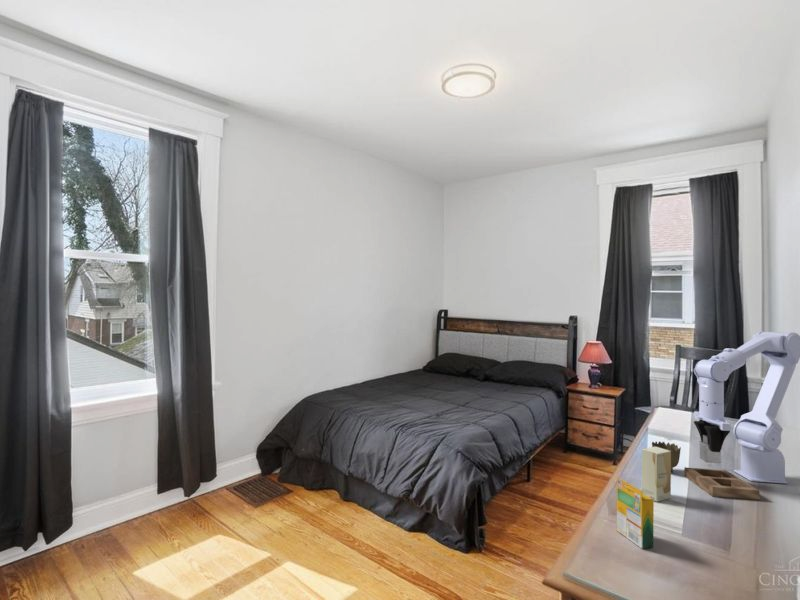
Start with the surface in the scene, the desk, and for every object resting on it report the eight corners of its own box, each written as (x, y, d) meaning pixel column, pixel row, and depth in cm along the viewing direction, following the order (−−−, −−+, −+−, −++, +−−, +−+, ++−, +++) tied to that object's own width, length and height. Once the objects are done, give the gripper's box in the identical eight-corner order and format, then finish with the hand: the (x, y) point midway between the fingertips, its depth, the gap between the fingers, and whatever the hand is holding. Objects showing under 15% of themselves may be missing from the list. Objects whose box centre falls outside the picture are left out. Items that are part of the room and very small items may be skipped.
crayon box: (654, 548, 85) (654, 490, 85) (641, 549, 84) (641, 491, 84) (627, 529, 92) (627, 476, 92) (616, 530, 91) (616, 477, 92)
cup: (685, 477, 122) (685, 449, 123) (657, 474, 124) (657, 447, 124) (674, 467, 130) (674, 442, 130) (648, 465, 131) (648, 440, 131)
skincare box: (657, 502, 105) (657, 453, 106) (640, 495, 109) (640, 448, 109) (672, 498, 108) (672, 450, 109) (655, 491, 112) (655, 445, 112)
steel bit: (713, 458, 122) (713, 434, 122) (720, 463, 118) (720, 438, 118) (699, 458, 122) (699, 434, 123) (706, 462, 119) (706, 437, 119)
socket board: (725, 478, 122) (725, 470, 122) (759, 500, 108) (759, 490, 108) (684, 475, 123) (684, 467, 123) (712, 496, 109) (712, 486, 109)
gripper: (683, 396, 128) (683, 440, 128) (710, 406, 114) (710, 456, 114) (708, 397, 127) (708, 442, 127) (739, 408, 113) (739, 458, 113)
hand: (711, 449), depth 120 cm, fingers closed on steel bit, 4 cm apart
